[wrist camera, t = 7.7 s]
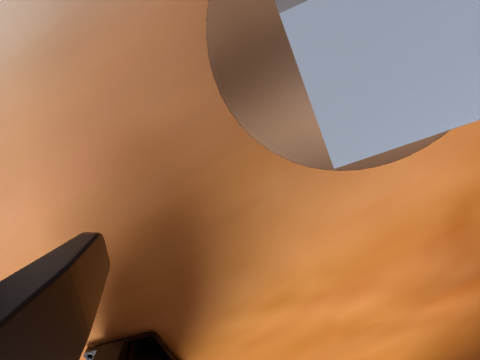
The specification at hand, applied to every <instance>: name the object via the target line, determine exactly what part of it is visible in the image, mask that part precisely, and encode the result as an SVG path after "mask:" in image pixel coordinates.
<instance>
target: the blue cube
mask: <svg viewBox="0 0 480 360" xmlns="http://www.w3.org/2000/svg"><path fill="white" fill-rule="evenodd" d="M275 3H276V6H277V9H278V12H279V14H280V17H281V20H282V23H283V26H284V29H285V31H286V34H287V37H288V40H289V43H290V46H291V48H292V51H293V54H294V57H295V60H296V63H297V66H298V68H299V71H300V74H301V77H302V80H303V83H304V85H305V88H306V91H307V94H308V97H309V100H310V102H311V105H312V108H313V111H314V114H315V117H316V119H317V122H318V125H319V128H320V131H321V134H322V136H323V139H324V142H325V145H326V148H327V151H328V153H329V156H330V159H331V162H332V165H333V167H334V169H335V168H338V167H341V166H344V165H347V164H350V163H353V162H356V161H359V160H362V159H365V158H368V157H371V156H374V155H377V154H380V153H383V152H386V151H389V150H392V149H395V148H398V147H401V146H404V145H406V144H409V143H412V142H415V141H418V140H421V139H424V138H427V137H430V136H433V135H436V134H439V133H442V132H445V131H448V130H451V129H454V128H457V127H460V126H463V125H466V124H469V123H472V122H475V121H478V120H480V0H275Z"/></svg>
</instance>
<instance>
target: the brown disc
mask: <svg viewBox="0 0 480 360" xmlns="http://www.w3.org/2000/svg"><path fill="white" fill-rule="evenodd" d="M207 46H208V54H209V61H210V64H211V68H212V72H213V76H214V79H215V82H216V84H217V87H218V89H219V92H220V94H221V96H222V98H223V100H224V102H225V104H226V105H227V107H228V109H229V111H230V112H231V113H232V115H233V116H234V118H235V119H236V120H237V122H238V123H239V124H240V125H241V126H242V128H243V129H244V130H245V131H246V132H247V133H248V134H249V135H250V136H251V137H252V138H254V139H255V140H256V141H257V142H259V143H260V144H261V145H262V146H263V147H265V148H267V149H268V150H270V151H271V152H273V153H275V154H276V155H278V156H280V157H283V158H285V159H287V160H289V161H291V162H294V163H297V164H300V165H304V166H307V167H312V168H317V169H323V170H335V171H347V170H361V169H367V168H373V167H377V166H381V165H385V164H388V163H392V162H394V161H397V160H400V159H402V158H405V157H407V156H410V155H412V154H413V153H415V152H417V151H419V150H421V149H423V148H425V147H427V146H428V145H430V144H431V143H433V142H434V141H436V140H437V139H439V138H441V137H442V136H443V135H445V134H446V133H447V132H448V131H450V130H448V131H445V132H442V133H439V134H436V135H433V136H430V137H427V138H424V139H421V140H418V141H415V142H412V143H409V144H406V145H404V146H401V147H398V148H395V149H392V150H389V151H386V152H383V153H380V154H377V155H374V156H371V157H368V158H365V159H362V160H359V161H356V162H353V163H350V164H347V165H344V166H341V167H338V168H335V169H334V167H333V165H332V162H331V159H330V156H329V153H328V151H327V148H326V145H325V142H324V139H323V136H322V134H321V131H320V128H319V125H318V122H317V119H316V117H315V114H314V111H313V108H312V105H311V102H310V100H309V97H308V94H307V91H306V88H305V85H304V83H303V80H302V77H301V74H300V71H299V68H298V66H297V63H296V60H295V57H294V54H293V51H292V48H291V46H290V43H289V40H288V37H287V34H286V31H285V29H284V26H283V23H282V20H281V17H280V14H279V12H278V9H277V6H276V3H275V0H209V1H208V10H207Z"/></svg>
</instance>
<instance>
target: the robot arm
mask: <svg viewBox="0 0 480 360" xmlns="http://www.w3.org/2000/svg"><path fill="white" fill-rule="evenodd" d="M109 268H110V261H109V257H108V253H107V249H106V244H105V240H104V237H103V235H102V234H101V233H93V232H84V233H81V234H79V235H78V236H76V237H74V238H73V239H71V240H69V241H68V242H66V243H64V244H63V245H61V246H59V247H57V248H56V249H54V250H52V251H51V252H49V253H47V254H46V255H44V256H42V257H41V258H39V259H37V260H36V261H34V262H32V263H31V264H29V265H27V266H25V267H24V268H22V269H20V270H19V271H17V272H15V273H14V274H12V275H10V276H9V277H7V278H5V279H4V280H2V281H0V360H79V359H80V357H81V354H82V352H83V349H84V347H85V345H86V342H87V340H88V337H89V335H90V332H91V329H92V326H93V323H94V320H95V316H96V313H97V310H98V306H99V303H100V300H101V296H102V293H103V290H104V286H105V283H106V280H107V276H108V273H109ZM84 357H85V359H86V360H177V359H176V358H175V356H174V355H173V354H172V353H171V351H170V350H169V349H168V348H167V346H166V345H165V344H164V343H163V341H162V340H161V339H160V338H159V336H158V335H157V334H156V333H153V332H147V333H144V334H140V335H136V336H132V337H129V338H125V339H121V340H117V341H113V342H110V343H106V344H102V345H98V346H95V347H91V348H88V349H86V351H85V353H84Z"/></svg>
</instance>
